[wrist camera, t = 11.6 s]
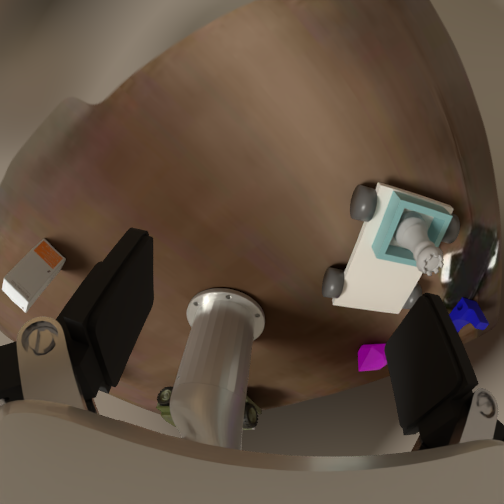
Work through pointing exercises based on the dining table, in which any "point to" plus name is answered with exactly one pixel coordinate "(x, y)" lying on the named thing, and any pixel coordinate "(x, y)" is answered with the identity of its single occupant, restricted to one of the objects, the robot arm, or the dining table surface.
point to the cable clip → (468, 315)
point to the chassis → (386, 250)
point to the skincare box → (33, 274)
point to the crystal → (371, 357)
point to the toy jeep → (249, 411)
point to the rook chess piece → (418, 242)
